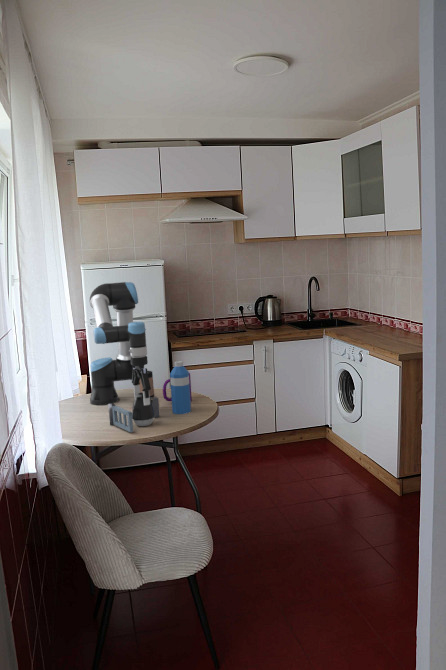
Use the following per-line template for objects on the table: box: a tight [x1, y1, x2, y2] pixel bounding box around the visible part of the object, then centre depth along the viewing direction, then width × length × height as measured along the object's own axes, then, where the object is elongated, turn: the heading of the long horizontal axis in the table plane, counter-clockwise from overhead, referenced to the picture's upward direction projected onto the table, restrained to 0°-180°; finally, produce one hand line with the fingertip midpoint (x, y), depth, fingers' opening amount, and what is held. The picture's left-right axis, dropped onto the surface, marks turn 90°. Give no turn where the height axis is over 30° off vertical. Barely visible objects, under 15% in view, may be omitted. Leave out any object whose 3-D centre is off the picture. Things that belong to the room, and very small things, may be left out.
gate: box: [112, 404, 134, 433], centre depth 254 cm, size 2×17×9 cm, turn 36°
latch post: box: [150, 396, 160, 419], centre depth 272 cm, size 4×5×10 cm, turn 116°
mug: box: [162, 372, 193, 402], centre depth 297 cm, size 9×16×15 cm, turn 118°
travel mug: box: [139, 370, 155, 397], centre depth 282 cm, size 8×8×20 cm
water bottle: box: [169, 360, 192, 415], centre depth 278 cm, size 9×9×25 cm
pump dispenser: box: [131, 392, 155, 427], centre depth 260 cm, size 10×10×15 cm
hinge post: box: [107, 403, 115, 426], centre depth 263 cm, size 3×3×10 cm
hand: (142, 402), depth 259 cm, fingers open, 13 cm apart
